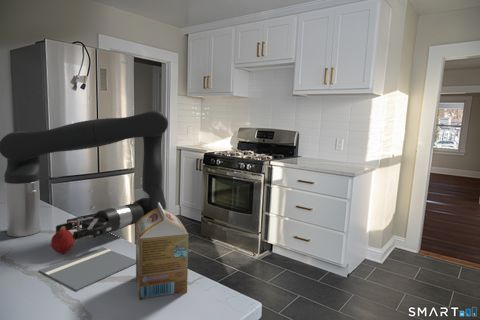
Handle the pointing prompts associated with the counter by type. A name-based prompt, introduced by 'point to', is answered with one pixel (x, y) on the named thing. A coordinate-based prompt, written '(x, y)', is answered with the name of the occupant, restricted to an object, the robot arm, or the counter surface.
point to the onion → (62, 241)
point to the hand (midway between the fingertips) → (64, 232)
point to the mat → (88, 268)
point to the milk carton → (161, 255)
